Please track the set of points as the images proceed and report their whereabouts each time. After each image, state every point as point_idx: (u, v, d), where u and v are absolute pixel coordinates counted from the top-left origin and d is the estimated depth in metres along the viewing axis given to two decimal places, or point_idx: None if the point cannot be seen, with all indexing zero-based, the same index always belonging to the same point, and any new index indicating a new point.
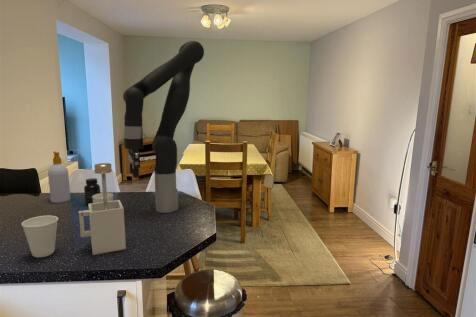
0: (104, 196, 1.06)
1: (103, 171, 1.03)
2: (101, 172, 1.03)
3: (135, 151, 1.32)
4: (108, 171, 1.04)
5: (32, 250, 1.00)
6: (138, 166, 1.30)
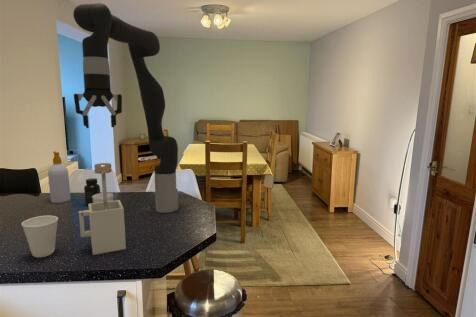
0: (104, 196, 1.06)
1: (103, 171, 1.03)
2: (101, 172, 1.03)
3: (110, 92, 1.02)
4: (108, 171, 1.04)
5: (32, 250, 1.00)
6: None
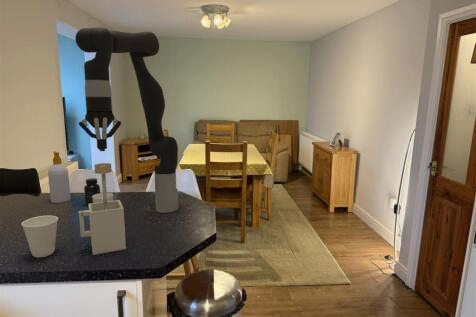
0: (104, 196, 1.06)
1: (103, 171, 1.03)
2: (101, 172, 1.03)
3: None
4: (108, 171, 1.04)
5: (32, 250, 1.00)
6: None
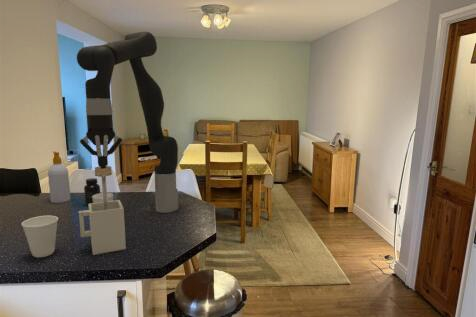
0: (105, 198, 1.06)
1: (103, 174, 1.03)
2: (101, 175, 1.03)
3: None
4: (108, 174, 1.04)
5: (32, 250, 1.00)
6: None
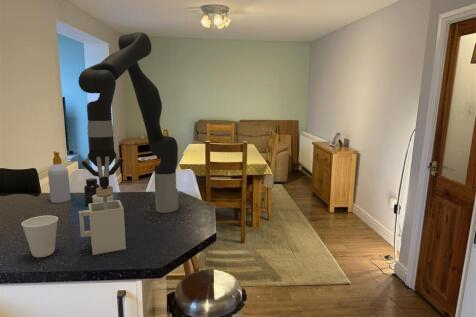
0: None
1: (105, 195, 1.04)
2: (103, 196, 1.04)
3: None
4: (109, 194, 1.05)
5: (32, 250, 1.00)
6: None
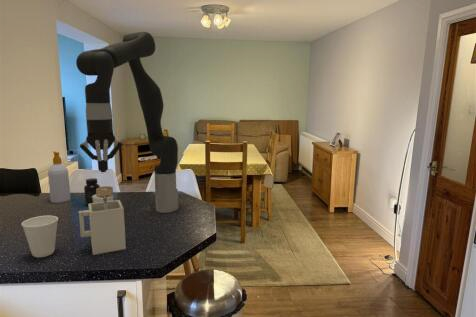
0: None
1: (105, 195, 1.04)
2: (103, 196, 1.04)
3: None
4: (110, 195, 1.05)
5: (32, 250, 1.00)
6: None
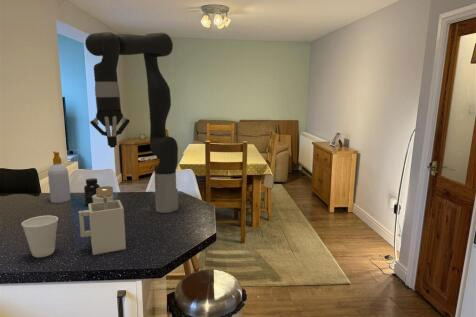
0: None
1: (105, 195, 1.04)
2: (103, 196, 1.04)
3: (120, 112, 1.11)
4: (110, 195, 1.05)
5: (32, 250, 1.00)
6: None
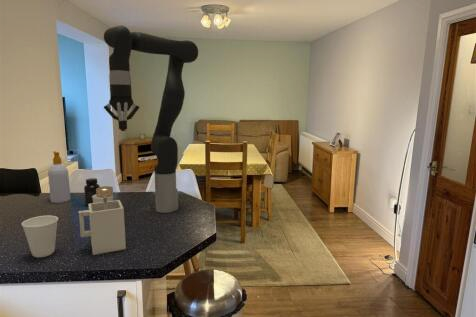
0: None
1: (105, 195, 1.04)
2: (103, 196, 1.04)
3: (131, 99, 1.23)
4: (110, 195, 1.05)
5: (32, 250, 1.00)
6: None
